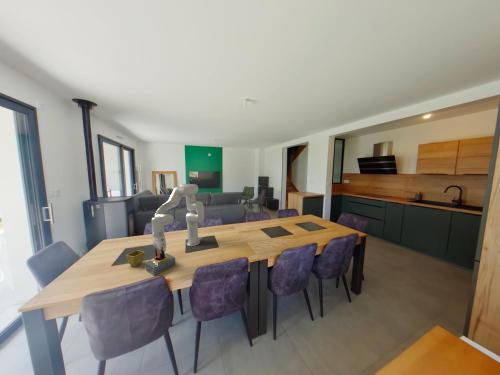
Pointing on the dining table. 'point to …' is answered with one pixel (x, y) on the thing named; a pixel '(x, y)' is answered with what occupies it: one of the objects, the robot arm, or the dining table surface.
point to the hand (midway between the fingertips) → (160, 256)
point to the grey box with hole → (159, 264)
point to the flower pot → (135, 257)
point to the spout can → (159, 254)
